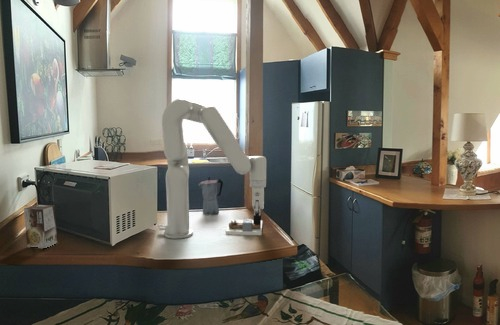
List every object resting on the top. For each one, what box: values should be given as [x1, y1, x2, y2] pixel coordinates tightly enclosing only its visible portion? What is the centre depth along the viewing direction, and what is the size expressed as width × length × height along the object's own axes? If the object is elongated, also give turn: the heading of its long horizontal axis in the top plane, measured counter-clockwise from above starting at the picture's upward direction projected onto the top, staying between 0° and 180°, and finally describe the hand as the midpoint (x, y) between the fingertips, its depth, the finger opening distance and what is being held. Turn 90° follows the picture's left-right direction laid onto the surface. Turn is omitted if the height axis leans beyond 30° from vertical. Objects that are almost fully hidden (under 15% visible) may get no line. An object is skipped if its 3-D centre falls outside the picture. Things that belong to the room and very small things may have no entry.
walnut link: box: [228, 210, 262, 228], centre depth 158 cm, size 15×4×8 cm, turn 87°
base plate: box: [225, 219, 263, 236], centre depth 162 cm, size 16×18×2 cm
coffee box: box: [23, 204, 58, 249], centre depth 138 cm, size 9×6×16 cm
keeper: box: [230, 218, 253, 231], centre depth 157 cm, size 10×6×4 cm, turn 86°
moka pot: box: [198, 176, 224, 215], centre depth 189 cm, size 10×15×20 cm, turn 133°
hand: (257, 221), depth 158 cm, fingers open, 5 cm apart
